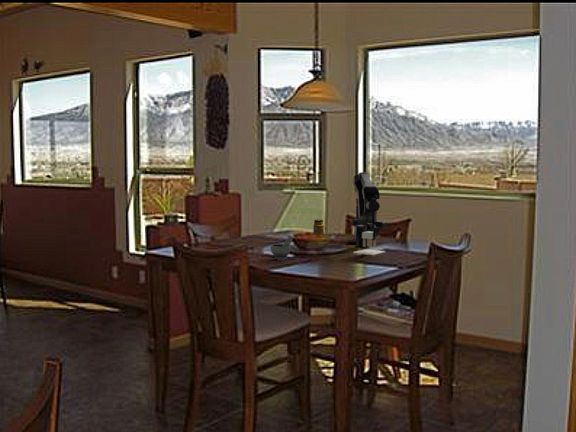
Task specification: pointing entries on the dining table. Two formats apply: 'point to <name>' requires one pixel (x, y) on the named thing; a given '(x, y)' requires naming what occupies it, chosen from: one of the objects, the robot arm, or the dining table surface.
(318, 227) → the condiment
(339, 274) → the dining table surface
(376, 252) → the mat
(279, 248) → the mortar and pestle
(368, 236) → the stool
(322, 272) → the dining table surface
